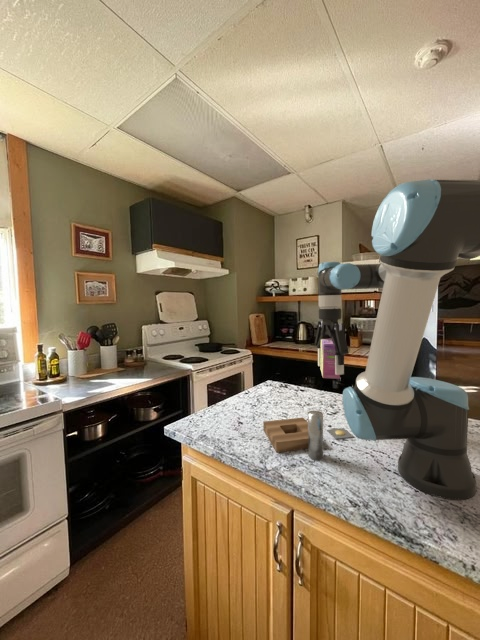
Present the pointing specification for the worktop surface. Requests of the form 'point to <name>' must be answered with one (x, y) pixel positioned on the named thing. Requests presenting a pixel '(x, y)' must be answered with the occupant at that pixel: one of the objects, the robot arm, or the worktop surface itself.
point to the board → (287, 434)
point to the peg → (315, 435)
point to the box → (328, 359)
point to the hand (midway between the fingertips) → (330, 369)
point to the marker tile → (340, 433)
